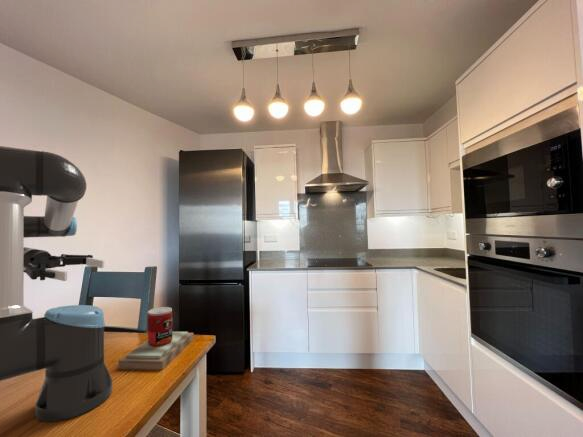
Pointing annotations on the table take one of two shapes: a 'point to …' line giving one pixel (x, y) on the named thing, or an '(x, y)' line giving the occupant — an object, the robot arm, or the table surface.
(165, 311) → the canned food
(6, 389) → the table surface
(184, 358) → the table surface
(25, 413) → the table surface
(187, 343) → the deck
